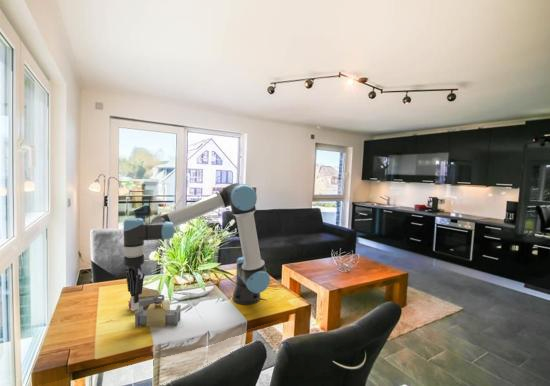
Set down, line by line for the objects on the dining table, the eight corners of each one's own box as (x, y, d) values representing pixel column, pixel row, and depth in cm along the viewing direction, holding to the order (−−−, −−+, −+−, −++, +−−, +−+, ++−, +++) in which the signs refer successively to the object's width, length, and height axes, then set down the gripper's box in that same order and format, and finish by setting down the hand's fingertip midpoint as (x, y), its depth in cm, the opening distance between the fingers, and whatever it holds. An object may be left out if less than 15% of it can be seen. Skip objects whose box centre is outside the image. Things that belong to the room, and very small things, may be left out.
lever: (163, 298, 128) (163, 293, 128) (165, 302, 124) (165, 297, 124) (128, 305, 121) (128, 300, 121) (129, 310, 117) (129, 304, 117)
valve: (180, 317, 130) (180, 297, 130) (177, 326, 123) (177, 304, 123) (140, 318, 128) (140, 298, 128) (134, 327, 121) (134, 305, 121)
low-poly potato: (122, 312, 134) (133, 307, 128) (124, 288, 139) (135, 283, 133) (152, 310, 145) (164, 306, 139) (153, 288, 150) (164, 283, 144)
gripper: (150, 256, 115) (151, 310, 117) (136, 250, 123) (136, 301, 125) (132, 260, 110) (133, 317, 111) (118, 254, 117) (119, 307, 119)
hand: (135, 309), depth 118 cm, fingers closed
